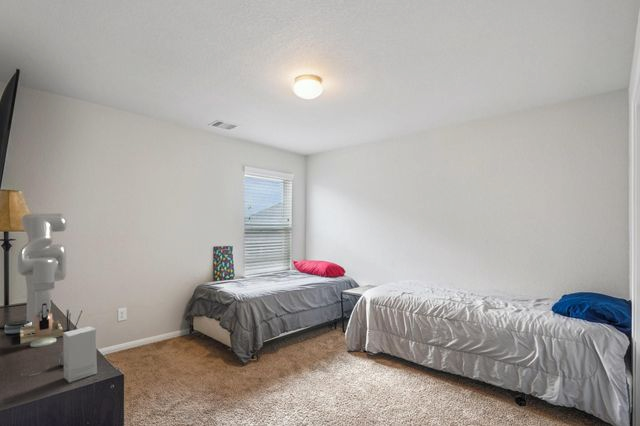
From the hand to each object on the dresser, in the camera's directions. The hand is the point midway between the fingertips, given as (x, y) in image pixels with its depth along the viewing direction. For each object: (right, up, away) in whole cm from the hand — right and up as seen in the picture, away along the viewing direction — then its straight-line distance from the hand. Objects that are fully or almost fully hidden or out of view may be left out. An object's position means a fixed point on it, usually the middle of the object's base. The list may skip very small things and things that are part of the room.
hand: (43, 327), depth 149 cm
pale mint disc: (0, -7, 0) cm, 7 cm away
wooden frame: (-10, -8, +11) cm, 17 cm away
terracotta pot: (0, -3, 0) cm, 3 cm away
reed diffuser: (+30, -6, -24) cm, 39 cm away
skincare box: (+41, -5, -34) cm, 54 cm away
